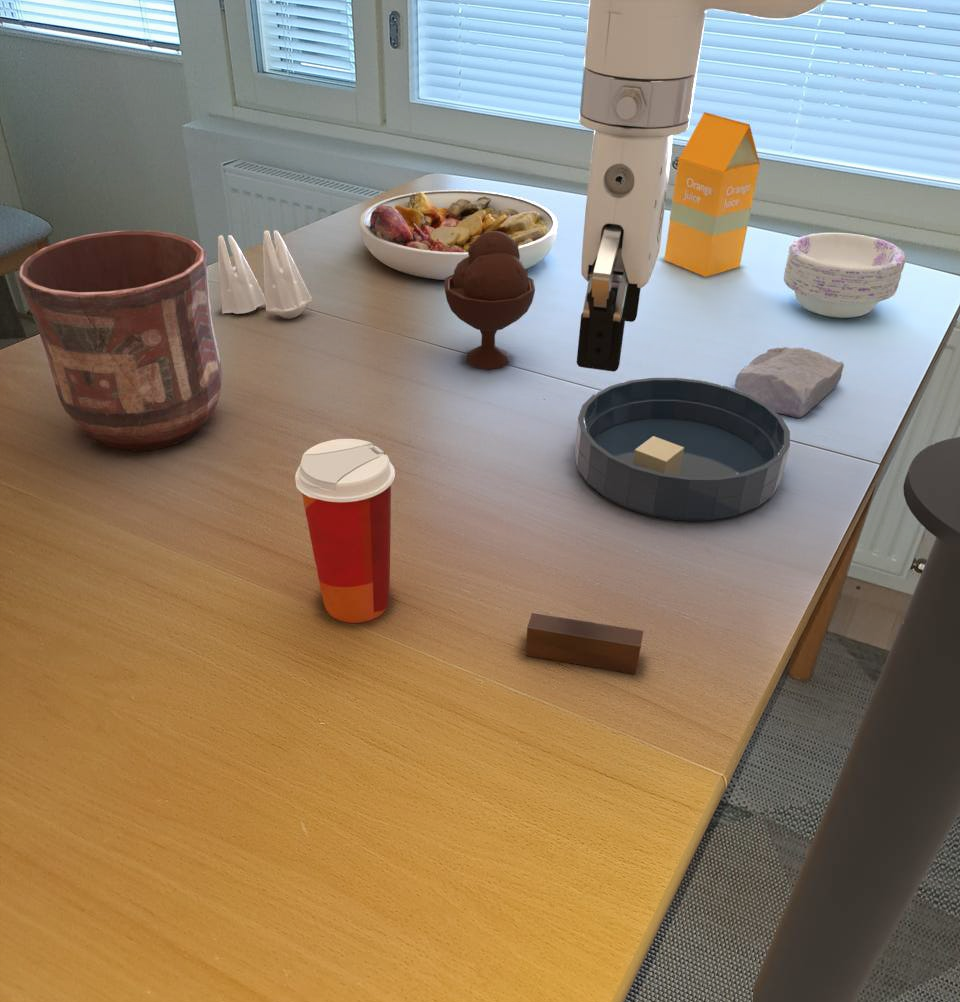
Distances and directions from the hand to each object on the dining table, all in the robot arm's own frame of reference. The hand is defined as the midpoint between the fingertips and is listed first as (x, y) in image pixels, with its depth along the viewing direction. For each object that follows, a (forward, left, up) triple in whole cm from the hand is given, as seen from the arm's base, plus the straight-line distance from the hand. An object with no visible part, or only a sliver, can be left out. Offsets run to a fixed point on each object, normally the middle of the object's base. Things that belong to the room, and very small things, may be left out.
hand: (607, 342), depth 75 cm
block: (-5, -12, -19) cm, 23 cm away
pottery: (+50, -10, -20) cm, 55 cm away
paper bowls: (-25, -66, -20) cm, 74 cm away
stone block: (-18, -37, -20) cm, 46 cm away
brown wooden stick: (-2, +16, -20) cm, 25 cm away
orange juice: (-6, -78, -20) cm, 81 cm away
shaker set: (+50, -42, -20) cm, 69 cm away
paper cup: (+18, +14, -20) cm, 30 cm away
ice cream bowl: (+18, -36, -20) cm, 45 cm away
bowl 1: (+31, -72, -20) cm, 81 cm away
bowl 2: (-7, -16, -20) cm, 27 cm away
